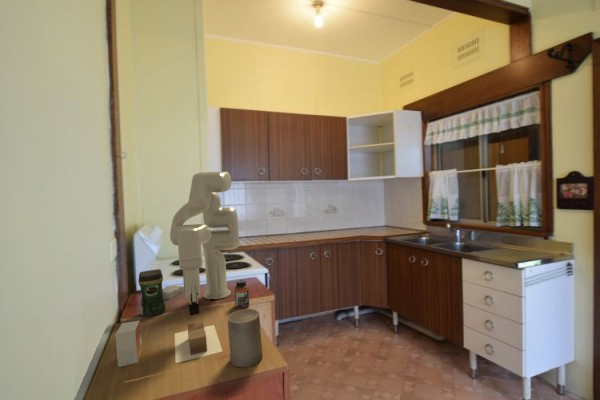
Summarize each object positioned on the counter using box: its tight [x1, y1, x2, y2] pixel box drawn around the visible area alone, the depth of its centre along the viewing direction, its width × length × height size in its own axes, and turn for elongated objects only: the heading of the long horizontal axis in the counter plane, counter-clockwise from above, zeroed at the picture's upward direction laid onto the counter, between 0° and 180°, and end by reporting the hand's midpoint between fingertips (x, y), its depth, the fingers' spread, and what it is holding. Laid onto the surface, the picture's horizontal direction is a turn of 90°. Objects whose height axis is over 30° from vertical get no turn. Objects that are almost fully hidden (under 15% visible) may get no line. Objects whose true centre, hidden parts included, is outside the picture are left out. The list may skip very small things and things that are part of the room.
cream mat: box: [174, 324, 223, 364], centre depth 108 cm, size 21×14×1 cm, turn 22°
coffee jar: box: [137, 268, 167, 317], centre depth 135 cm, size 10×8×19 cm
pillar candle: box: [226, 308, 263, 368], centre depth 96 cm, size 10×10×15 cm
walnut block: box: [187, 321, 207, 355], centre depth 106 cm, size 5×5×12 cm
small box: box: [114, 320, 143, 368], centre depth 99 cm, size 8×6×10 cm
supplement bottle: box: [234, 279, 250, 309], centre depth 138 cm, size 6×6×11 cm
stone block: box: [162, 285, 184, 301], centre depth 157 cm, size 12×5×10 cm
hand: (194, 313), depth 112 cm, fingers closed
